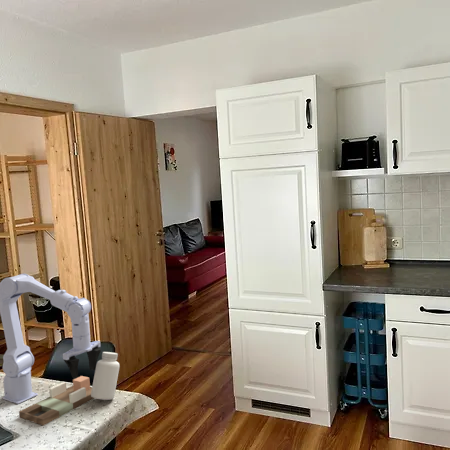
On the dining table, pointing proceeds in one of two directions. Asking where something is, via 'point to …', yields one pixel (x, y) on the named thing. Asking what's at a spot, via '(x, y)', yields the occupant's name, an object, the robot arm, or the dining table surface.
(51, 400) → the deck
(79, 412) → the dining table surface
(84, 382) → the block
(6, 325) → the robot arm
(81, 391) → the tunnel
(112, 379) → the pill bottle
